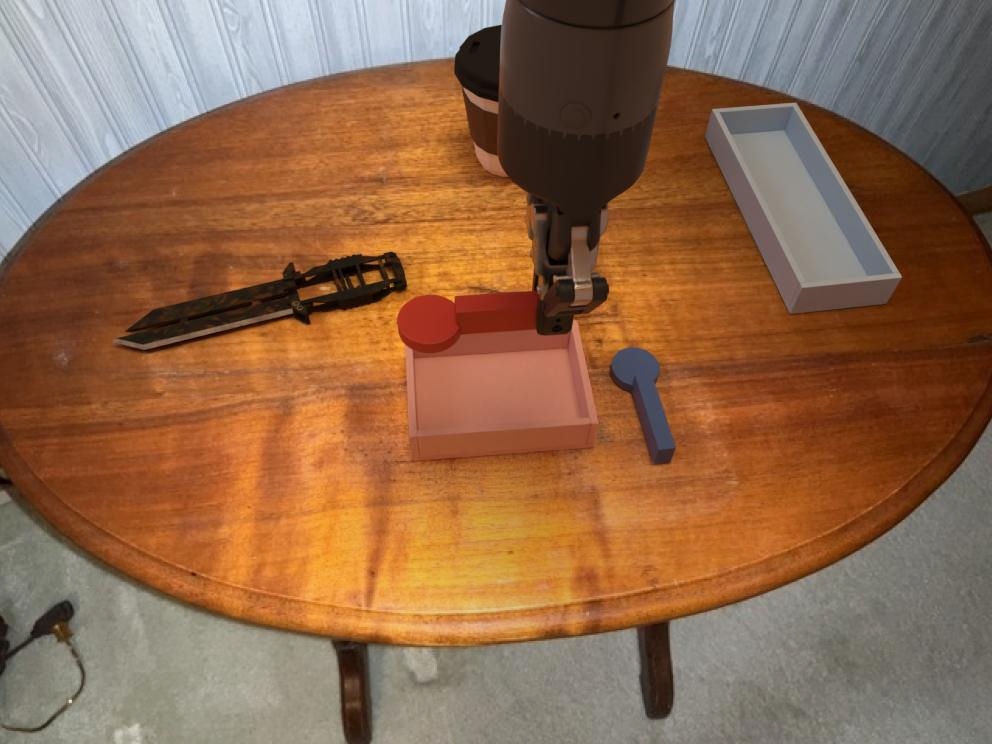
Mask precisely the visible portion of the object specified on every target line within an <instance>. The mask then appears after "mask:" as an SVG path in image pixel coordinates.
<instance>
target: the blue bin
mask: <svg viewBox="0 0 992 744" xmlns="http://www.w3.org/2000/svg"><path fill="white" fill-rule="evenodd" d="M704 138H705V141H706V142H707V145H708V146H709V149H710V151H711V154H712V155H713V157H714V159H715V161H716V164H717V165H718V167H719V169H720V171H721V174H722V175H723V178H724V180H725V182H726V184H727V186H728V188H729V190H730V193H731V194H732V196H733V198H734V201H735V203H736V205H737V207H738V209H739V211H740V214H741V215H742V217H743V219H744V222H745V224H746V226H747V228H748V230H749V232H750V234H751V236H752V238H753V240H754V242H755V245H756V247H757V249H758V250H759V254H760V255H761V257H762V259H763V261H764V263H765V265H766V268H767V270H768V271H769V274H770V275H771V278H772V280H773V282H774V284H775V286H776V288H777V290H778V293H779V294H780V297H781V299H782V302H783V303H784V305H785V307H786V309H787V311H788V313H789V314H790V315H795V314H803V313H814V312H822V311H832V310H841V309H850V308H859V307H869V306H877V305H878V306H879V305H887V303H888V302H889V300H890V298H891V297H892V295H893V294H894V292H895V290H896V288H897V287H898V285H899V284H900V282H901V280H902V278H903V276H902V274H901V273H900V271H899V269H898V268H897V266H896V264H895V263H894V261H893V259H892V258H891V256H890V254H889V253H888V251H887V250H886V248H885V246H884V245H883V243H882V242H881V240H880V239H879V237H878V235H877V233H876V232H875V230H874V228H873V227H872V224H871V223H870V222H869V220H868V218H867V217H866V215H865V213H864V212H863V210H862V209H861V206H860V205H859V204H858V202H857V200H856V198H855V197H854V195H853V193H852V192H851V190H850V189H849V187H848V185H847V184H846V182H845V180H844V179H843V177H842V176H841V174H840V172H839V171H838V169H837V168H836V166H835V164H834V163H833V161H832V159H831V158H830V156H829V154H828V153H827V151H826V149H825V147H824V146H823V144H822V143H821V141H820V140H819V138H818V136H817V134H816V132H815V131H814V130H813V127H812V126H811V125H810V123H809V121H808V120H807V118H806V116H805V115H804V113H803V111H802V110H801V108H800V106H799V104H798V103H797V102H787V103H786V102H785V103H774V104H773V103H771V104H762V105H761V104H760V105H747V106H734V107H733V106H732V107H723V108H712V109H711V112H710V116H709V119H708V124H707V127H706V130H705V134H704Z"/></svg>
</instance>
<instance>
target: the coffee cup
mask: <svg viewBox="0 0 992 744" xmlns="http://www.w3.org/2000/svg"><path fill="white" fill-rule="evenodd" d="M501 27H502V24H497V25H491V26H487V27H482V28H481V29H480V30H478V31H476V32H474V33H472V34H469V35H468V36H467V37H466V39H465V40H464V41H463V42H462V44H460V45H459V47H458V48H459V49H458V50H457V52H456V53H455V54H454V65H453V68H454V69H453V73H454V76H455V77H456V79H457V80H458V82H459V84H460V85H461V89H462V90H461V92H462V96H463V102H464V108H465V113H466V118H467V123H468V129H469V135H470V137H471V139H472V142H473V146H474V151H475V156H476V158H477V160H478V162H479V163H480V164H481V167H482V168H484V170H486V171H487V172H489V173H490V174H492V175H494V176H498V177H501V178H509V177H508V176H507V175H506V173H505V172H504V170H503V169H502V166H501V164H500V162H499V159H498V154H497V132H498V101H499V74H500V45H501Z"/></svg>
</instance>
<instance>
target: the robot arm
mask: <svg viewBox="0 0 992 744" xmlns="http://www.w3.org/2000/svg"><path fill="white" fill-rule="evenodd" d="M675 3H676V0H505V3H504V8H503V14H502V20H501V25H502V27H501V45H500V74H499V101H498V132H497V154H498V159H499V162H500V164H501V166H502V169H503V170H504V172H505V173H506V175H507V176H508V177H507V178H509V180H511V182H512V183H514V184H515V186H517V187H518V188H520V189H521V190H523V191H524V193H525V197H526V198H525V199H526V213H525V225H526V230H527V236H528V239H529V240H530V241H531V249H530V250H529V257H530V259H531V260H532V264H533V273H532V274H533V275H532V286H531V291H537V294H538V300H537V313H536V323H535V324H536V330H537V333H538V334H539V335H544V336H548V335H563V334H567V333H569V332H570V331H571V330H572V325H573V320H574V318H575V316H579V315H580V316H582V315H589V314H590V313H591V312H593V311H595V309H597V308H599V307H600V306H602V304H604V303H605V302H606V301H607V300H608V297H609V296H608V295H609V293H610V286H609V283H608V281H607V278H606V277H605V276H601V273H600V272H599V271H595V272H594V270H595V269H596V266H597V261H598V255H599V249H600V242H601V238H602V236H604V234H606V232H607V227H608V223H609V215H610V213H609V212H610V211H609V209H610V208H609V203H610V202H611V201H613V200H614V199H616V198H618V197H619V196H620V195H621V194H623V193H625V192H627V191H628V190H629V189H630V188H631V187H632V186H633V185H635V184H636V182H637V181H638V180H639V178H640V177H641V175H642V173H643V172H644V170H645V166H646V163H647V158H648V155H649V151H650V150H649V149H650V145H651V140H652V136H653V131H654V127H655V122H656V117H657V113H658V108H659V104H660V100H661V95H662V91H663V86H664V81H665V76H666V71H667V67H668V62H669V57H670V54H671V53H670V52H671V47H672V41H673V40H672V39H673V32H674V31H673V30H674V12H675Z"/></svg>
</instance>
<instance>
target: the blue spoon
mask: <svg viewBox="0 0 992 744" xmlns="http://www.w3.org/2000/svg"><path fill="white" fill-rule="evenodd" d="M660 369H661V367H660V363H659V361H658V359H657V358H656V356H655V355H654V354H653V353H651V352H650V351H648V350H646V349H644V348H641V347H635V346H633V347H626V348H622V349H620V350H619V351H618V352H616V353H615V354H614V356H613V357H612V360H611V362H610V368H609V375H610V377H611V379H612V381H613V383H614V384H615V385H616V386H618V387H619V388H620V389H622V390H623V391H626V392H629V393H631V395H632V399H633V402H634V405H635V409H636V411H637V415H638V418H639V422H640V425H641V428H642V431H643V434H644V439H645V441H646V445H647V447H648V450H649V454H650V457H651V459H652V464H653V465H660V464H667V463H668V464H669V463H671V462H672V460H673V458H674V454H675V452H676V450H677V446H676V443H675V440H674V437H673V434H672V430H671V428H670V425H669V421H668V419H667V415H666V412H665V410H664V406H663V404H662V400H661V398H660V395H659V391H658V389H657V386H656V385H657V384H656V383H657V382H658V378H659V375H660V371H661V370H660Z"/></svg>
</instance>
